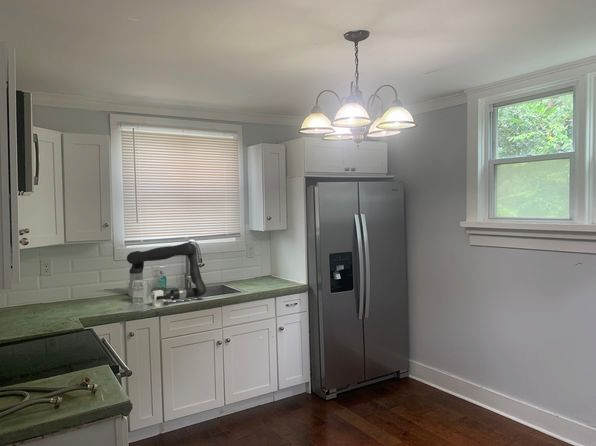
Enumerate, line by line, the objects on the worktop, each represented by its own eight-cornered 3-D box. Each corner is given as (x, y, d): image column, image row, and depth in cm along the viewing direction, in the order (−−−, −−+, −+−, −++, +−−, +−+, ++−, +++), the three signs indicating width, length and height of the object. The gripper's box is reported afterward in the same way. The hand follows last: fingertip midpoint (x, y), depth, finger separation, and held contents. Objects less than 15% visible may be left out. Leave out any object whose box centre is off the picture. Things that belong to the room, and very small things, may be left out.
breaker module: (150, 305, 301) (150, 291, 300) (161, 304, 305) (161, 289, 305) (153, 307, 298) (152, 292, 297) (163, 305, 302) (163, 290, 302)
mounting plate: (118, 308, 293) (118, 307, 293) (131, 304, 304) (131, 303, 304) (143, 311, 285) (143, 310, 285) (155, 307, 297) (155, 306, 297)
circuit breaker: (152, 299, 322) (151, 278, 321) (143, 303, 308) (142, 281, 307) (142, 298, 323) (141, 278, 322) (132, 303, 309) (132, 281, 308)
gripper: (173, 287, 316) (150, 290, 306) (182, 290, 305) (158, 293, 294) (174, 297, 316) (150, 300, 306) (182, 301, 305) (158, 304, 295)
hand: (154, 297), depth 300 cm, fingers open, 7 cm apart
